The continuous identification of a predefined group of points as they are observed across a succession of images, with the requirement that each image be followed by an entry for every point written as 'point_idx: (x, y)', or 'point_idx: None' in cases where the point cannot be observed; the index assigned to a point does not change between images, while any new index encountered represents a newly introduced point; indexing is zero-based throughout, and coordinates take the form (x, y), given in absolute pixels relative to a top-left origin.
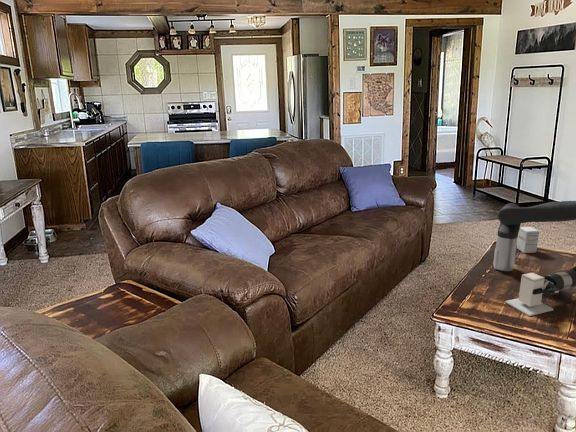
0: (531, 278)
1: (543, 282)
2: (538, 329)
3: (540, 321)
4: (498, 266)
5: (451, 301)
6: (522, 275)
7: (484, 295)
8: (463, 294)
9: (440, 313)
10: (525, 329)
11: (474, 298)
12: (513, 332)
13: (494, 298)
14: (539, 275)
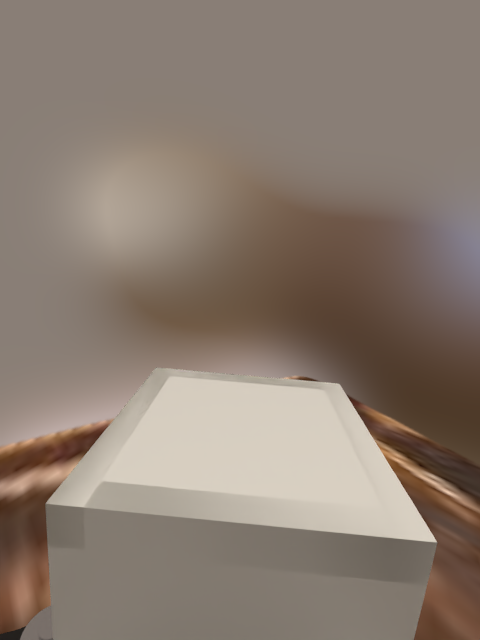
0: (201, 378)
1: (59, 592)
2: (3, 505)
3: (4, 596)
4: None
5: (387, 424)
6: (326, 389)
7: (476, 568)
8: (469, 485)
9: (309, 379)
10: (68, 464)
11: (420, 495)
12: (102, 425)
13: (427, 594)
14: (205, 516)
